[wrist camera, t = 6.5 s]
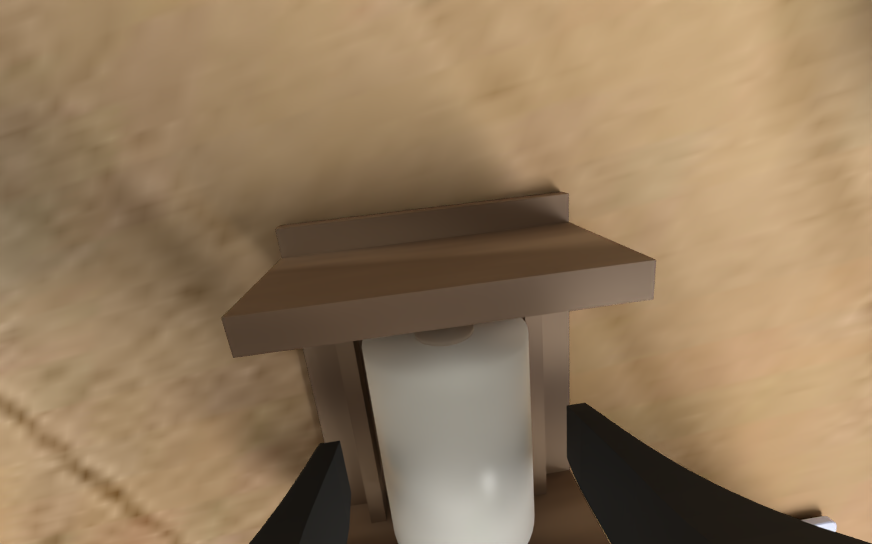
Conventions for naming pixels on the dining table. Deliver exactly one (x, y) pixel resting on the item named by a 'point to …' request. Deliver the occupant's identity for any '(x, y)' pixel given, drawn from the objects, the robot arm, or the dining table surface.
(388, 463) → the roll
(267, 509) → the dining table surface
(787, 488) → the dining table surface
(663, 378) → the dining table surface
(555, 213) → the holder
